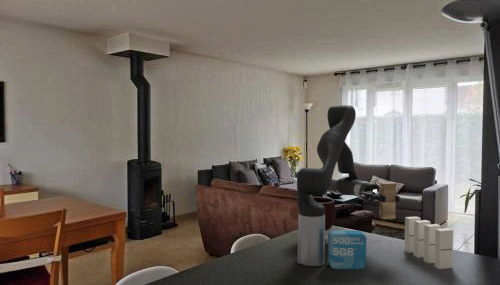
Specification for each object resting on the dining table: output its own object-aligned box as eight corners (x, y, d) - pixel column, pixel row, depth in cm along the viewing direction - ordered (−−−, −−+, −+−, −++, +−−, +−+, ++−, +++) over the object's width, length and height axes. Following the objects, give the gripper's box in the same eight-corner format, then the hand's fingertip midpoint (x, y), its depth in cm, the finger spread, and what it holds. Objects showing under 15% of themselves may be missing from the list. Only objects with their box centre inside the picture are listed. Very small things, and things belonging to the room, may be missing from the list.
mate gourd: (342, 240, 156) (342, 193, 155) (321, 247, 147) (321, 197, 146) (313, 232, 168) (313, 188, 167) (292, 238, 159) (292, 192, 158)
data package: (330, 269, 126) (330, 234, 125) (327, 264, 131) (328, 230, 130) (366, 269, 126) (366, 234, 125) (362, 264, 130) (362, 230, 130)
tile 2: (404, 250, 144) (404, 217, 143) (415, 249, 145) (416, 216, 144) (408, 252, 142) (409, 218, 141) (419, 251, 143) (420, 218, 142)
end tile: (434, 266, 128) (435, 229, 127) (447, 265, 129) (447, 228, 128) (439, 269, 126) (440, 231, 125) (452, 267, 127) (453, 230, 126)
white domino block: (423, 260, 133) (424, 224, 133) (435, 259, 134) (436, 223, 134) (428, 263, 131) (429, 226, 130) (440, 262, 132) (441, 225, 131)
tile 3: (413, 255, 139) (414, 220, 138) (425, 254, 140) (426, 220, 139) (417, 257, 136) (418, 222, 136) (429, 256, 137) (430, 221, 137)
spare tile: (379, 217, 138) (379, 182, 138) (391, 217, 140) (391, 182, 139) (383, 219, 136) (383, 183, 135) (395, 218, 137) (395, 183, 137)
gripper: (351, 182, 150) (374, 189, 133) (383, 181, 153) (409, 188, 136) (350, 201, 150) (373, 210, 133) (382, 199, 153) (409, 208, 137)
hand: (391, 199), depth 135 cm, fingers closed on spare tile, 5 cm apart
